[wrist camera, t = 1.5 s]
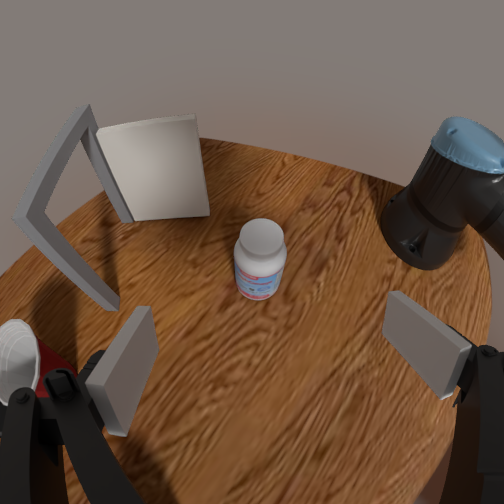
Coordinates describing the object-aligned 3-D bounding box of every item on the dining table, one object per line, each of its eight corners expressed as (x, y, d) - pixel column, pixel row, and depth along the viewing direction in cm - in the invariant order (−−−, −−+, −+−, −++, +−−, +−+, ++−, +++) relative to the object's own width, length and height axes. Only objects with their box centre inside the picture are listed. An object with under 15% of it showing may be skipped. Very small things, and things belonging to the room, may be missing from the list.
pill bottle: (228, 292, 38) (222, 248, 28) (246, 256, 41) (245, 205, 31) (270, 308, 37) (278, 269, 27) (285, 270, 40) (297, 223, 30)
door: (135, 221, 43) (95, 134, 28) (137, 209, 45) (101, 123, 29) (209, 215, 44) (194, 118, 29) (210, 204, 45) (196, 108, 30)
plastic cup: (57, 330, 34) (7, 300, 23) (103, 371, 31) (52, 352, 21) (28, 383, 29) (-25, 366, 18) (72, 429, 26) (16, 427, 16)
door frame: (135, 213, 45) (89, 104, 26) (118, 310, 36) (25, 216, 17) (124, 213, 45) (76, 107, 26) (106, 310, 36) (11, 219, 17)
